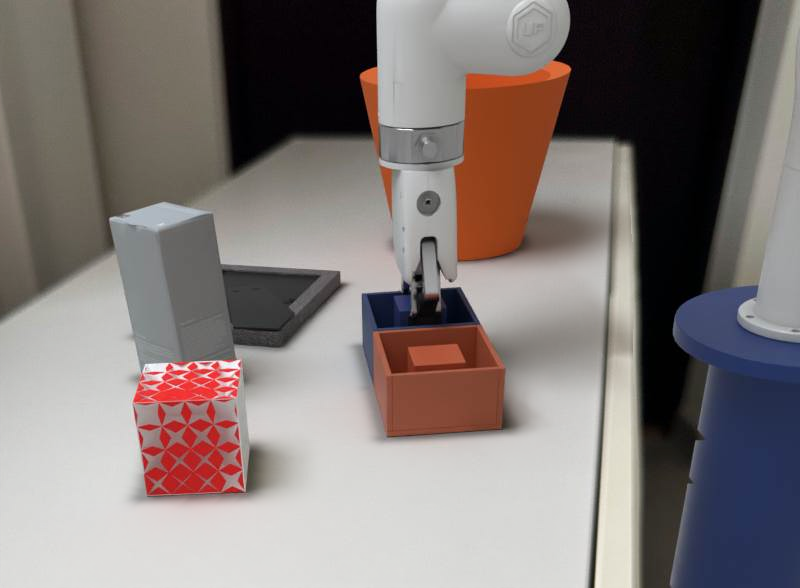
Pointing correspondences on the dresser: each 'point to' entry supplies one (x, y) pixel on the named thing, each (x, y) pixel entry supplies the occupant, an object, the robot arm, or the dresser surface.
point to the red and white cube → (192, 427)
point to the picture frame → (273, 300)
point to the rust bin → (438, 383)
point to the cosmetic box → (173, 284)
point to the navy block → (404, 308)
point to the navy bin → (382, 319)
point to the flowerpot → (494, 154)
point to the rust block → (435, 358)
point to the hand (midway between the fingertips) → (420, 343)
